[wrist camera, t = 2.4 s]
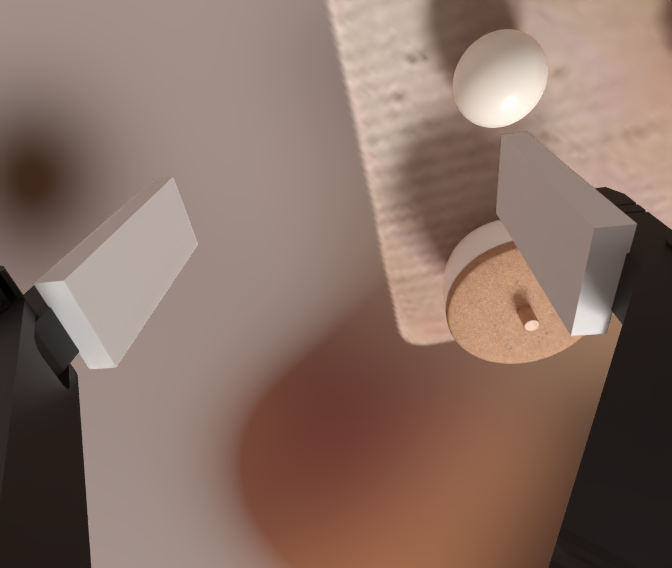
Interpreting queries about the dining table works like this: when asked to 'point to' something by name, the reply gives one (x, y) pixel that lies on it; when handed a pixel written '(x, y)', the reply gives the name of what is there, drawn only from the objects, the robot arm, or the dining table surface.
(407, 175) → the dining table surface
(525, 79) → the cue ball
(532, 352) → the lidded jar
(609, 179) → the dining table surface
